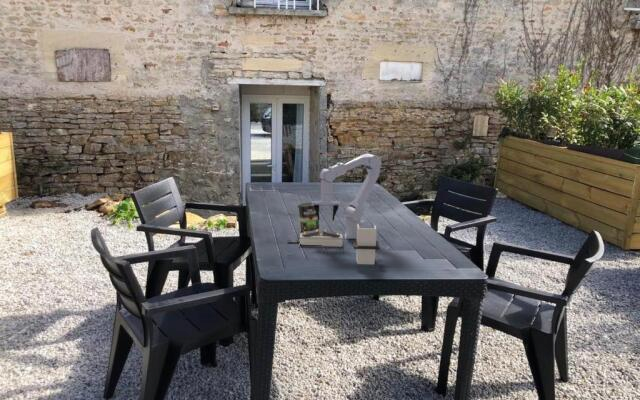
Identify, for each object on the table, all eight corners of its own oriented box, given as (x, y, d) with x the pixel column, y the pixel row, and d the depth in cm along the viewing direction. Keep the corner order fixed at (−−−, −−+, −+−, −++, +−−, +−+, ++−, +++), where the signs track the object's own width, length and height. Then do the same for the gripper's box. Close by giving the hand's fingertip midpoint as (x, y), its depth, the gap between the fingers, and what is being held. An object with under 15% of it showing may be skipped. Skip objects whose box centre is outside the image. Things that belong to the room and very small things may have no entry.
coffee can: (321, 230, 247) (319, 204, 244) (302, 233, 244) (300, 207, 242) (317, 227, 257) (314, 201, 254) (298, 229, 254) (296, 204, 252)
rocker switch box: (341, 240, 235) (341, 233, 235) (342, 246, 227) (342, 238, 226) (288, 239, 235) (288, 232, 234) (287, 245, 227) (287, 237, 226)
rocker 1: (319, 232, 232) (318, 228, 232) (319, 234, 228) (318, 231, 228) (303, 235, 232) (303, 232, 232) (303, 238, 228) (302, 234, 228)
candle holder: (389, 253, 219) (391, 219, 215) (397, 272, 195) (400, 235, 191) (336, 252, 219) (337, 218, 215) (337, 271, 195) (338, 233, 191)
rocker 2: (338, 236, 232) (339, 233, 232) (338, 238, 228) (339, 235, 228) (322, 232, 232) (323, 229, 232) (322, 234, 228) (323, 231, 228)
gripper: (340, 192, 236) (339, 218, 239) (312, 191, 236) (311, 217, 238) (341, 194, 229) (340, 221, 232) (311, 194, 229) (311, 221, 232)
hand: (325, 219), depth 235 cm, fingers open, 7 cm apart
